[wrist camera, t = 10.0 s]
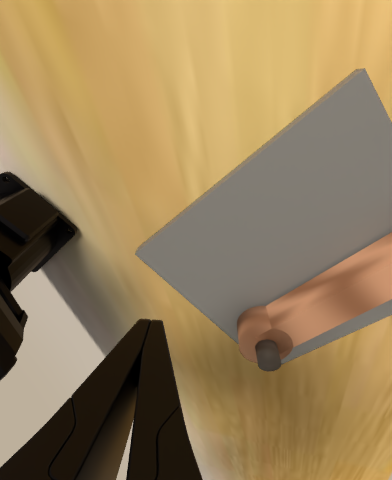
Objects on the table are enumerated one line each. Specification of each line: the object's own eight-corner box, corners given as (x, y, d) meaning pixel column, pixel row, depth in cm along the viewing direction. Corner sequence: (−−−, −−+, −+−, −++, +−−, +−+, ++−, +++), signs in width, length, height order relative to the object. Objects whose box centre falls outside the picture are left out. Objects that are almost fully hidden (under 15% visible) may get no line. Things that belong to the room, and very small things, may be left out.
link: (255, 346, 26) (263, 387, 22) (226, 321, 24) (229, 361, 21) (454, 242, 19) (509, 277, 16) (430, 199, 18) (485, 227, 14)
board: (266, 361, 29) (268, 370, 28) (137, 247, 22) (134, 254, 21) (459, 272, 22) (469, 279, 21) (356, 69, 15) (364, 68, 15)
